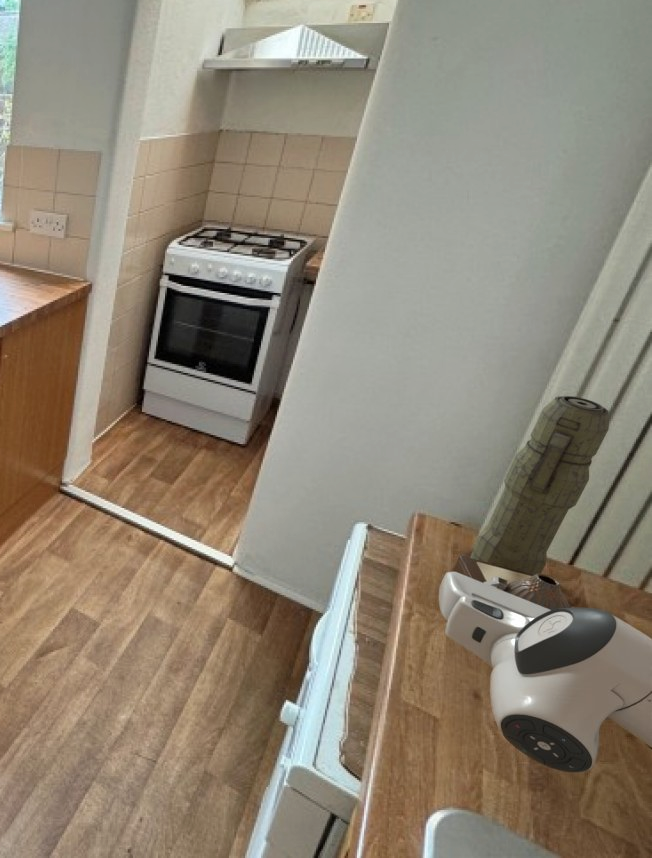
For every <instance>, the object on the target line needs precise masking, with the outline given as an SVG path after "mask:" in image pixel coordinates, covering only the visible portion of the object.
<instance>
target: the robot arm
mask: <svg viewBox="0 0 652 858" xmlns="http://www.w3.org/2000/svg"><path fill="white" fill-rule="evenodd" d="M506 587H507V580H504V579H502V578H499V577H497V576H493V578H492V580H491V581H487V582H484V583H482V582H480V581H477V580H475V579H472V578H470V577H467V576H465V575H462V574H460V573H457V572H452V571H447V572H446V573H445V574H444V577H443V578H442V581H441V582H440V585H439V589H438V604H439V609H440V613H441V615H442V617H443V618H444V619H445V620H446V624H445V625H446V626H445V629H444V631H445V635H446V637H448V638H449V639H450V640H452V641H453V642H454V643H456V644H458V645H460V646H461V647H463V648H464V649H466V650H467V651H469V652H470V653H472V654H474V655H475V657H478V658H479V659H480V660H482V661H483V662H485V663H486V664H487V665H489V666H490V667H491V668H492V671H491V673H490V677H489V694H490V695H489V697H490V707H491V711H492V716H493V719H494V721H495V724H496V727H497V728H498V730H499V732H500V733H501V735H502V736H503V737H504V738H505V739H506V741H507V742H509V743H510V744H511V745H512V746H513V747H514V748H516V749H517V750H518V751H520V753H523V754H524V755H525V756H527V757H528V758H530V759H531V760H533V761H535V762H537V763H539V764H541V765H542V766H545V767H548V768H550V769H554V770H557V771H561V772H565V773H570V774H571V773H572V774H580V773H587V772H588V771H590V770H591V769H592V768H593V767H594V766H595V764H596V761H597V758H598V755H599V750H600V749H599V748H600V728H601V726H602V724H603V723H604V721H605V720H607V718H608V719H610V720H611V721H613V722H614V723H615V724H617V725H618V726H620V727H621V728H623V729H624V730H625V731H626V732H628V733H629V734H631V735H633V736H634V737H636V738H637V739H638V740H640V742H643V743H644V744H645V746H647V747H648V748H649V749H650V750H651V751H652V638H651V637H650V636H648V635H646V634H645V633H644V632H642V631H640V630H638V629H637V628H635V627H634V626H632V625H630V624H629V623H627V622H625V621H624V620H622V619H621V618H619V617H617V616H616V615H613V614H612V613H611V612H609V611H607V610H605V609H601V608H594V607H576V606H572V605H571V608H561V609H554V610H550V609H547V608H545V607H542V606H540V605H537V604H535V603H532V602H530V601H527V600H525V599H522V598H520V597H517V596H515V595H512V594H510V593H507V592H505V591H504V590H505V589H506Z"/></svg>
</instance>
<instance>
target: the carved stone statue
mask: <svg viewBox="0 0 652 858" xmlns="http://www.w3.org/2000/svg"><path fill="white" fill-rule="evenodd" d="M609 429H610V411H609V410H608V409H607V408H606V407H604V406H603V405H602V404H600V403H598V402H595V401H593V400H590V399H587V398H583V397H579V396H574V395H564V396H563V395H562V396H561V395H560V396H559V395H558V396H556V397H554V398H553V399H552V400H551V401H549V402H548V403H547V404H546V405H545V406H544V407H543V408H542V409H541V412H540V413H539V416H538V418H537V420H536V423H535V425H534V427H533V429H532V431H531V433H530V437H531V438H529V440H527V441H526V444H525V446H523V448H521V449H520V450H519V451H517V453H515V456H514V458H513V460H512V462H511V465H510V467H509V469H508V471H507V473H506V476H505V478H504V481H503V482H504V486H505V487H504V489H503V491H502V493H501V495H500V497H499V500H498V502H497V504H496V506H495V508H494V510H493V513H492V515H491V517H490V519H489V521H488V524H487V525H486V526H485V527H484V528H483V529H482V530H481V531H480V532H478V535H477V537H476V539H475V542H474V543H473V546H472V553H471V554H470V555H469V558H473V559H476V560H480V561H484V562H488V563H491V564H495V565H499V566H503V567H507V568H510V569H514V570H518V571H522V572H526V573H529V574H533V575H536V574H542V572H543V570H544V569H545V566H546V565H547V562H548V561H547V560H548V558H547V555H548V553H547V552H548V550H549V548H550V547H551V545H552V543H553V541H554V539H555V538H556V537H555V536H556V535H557V533H558V530H559V529H560V527H561V525H562V523H563V521H564V520H565V517H566V515H567V513H568V512H569V510H570V509H573V508H574V507H575V506H576V505H577V503H578V501H579V500H580V498H581V496H582V495H583V492H584V491H585V488H586V486H587V485H588V482H589V480H590V466H592V458H593V457H595V456H596V454H597V453H598V451H599V449H600V447H601V446H602V443H603V441H604V439H605V437H606V435H607V433H608V431H609Z"/></svg>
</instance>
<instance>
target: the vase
mask: <svg viewBox="0 0 652 858" xmlns="http://www.w3.org/2000/svg"><path fill="white" fill-rule="evenodd" d="M504 591H505V592H507V593H510V594H512V595H515V596H517V597H520V598H522V599H525V600H527V601H530V602H532V603H535V604H537V605H540V606H542V607H545V608H547V609H550V610H554V609H561V608H569V605H568V603H569V601H568V600H567V598H566V596H565V594H564V593H563V591H562V588H561V584H560V582H559V581H558V580H557V579H556V578H554V577H552V576H550V575H548V574H545V573H541V574H536V575H534V576H532V577H526V578H521V579H517V580H514V581H512V582H510V583H509V584H507V587H506V589H505V590H504ZM567 601H568V602H567Z"/></svg>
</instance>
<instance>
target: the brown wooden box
mask: <svg viewBox="0 0 652 858" xmlns="http://www.w3.org/2000/svg"><path fill="white" fill-rule="evenodd" d="M451 572H457V573H460V574H462V575H465V576H467V577H470V578H472V579H475V580H477V581H480V582H482V583H484V582H487V581H491V580H492V578H493V576H497V577H499V578H502V579H504V580H507V584H509V583H510V582H512V581H514V580H517V579H521V578H526V577H532V576H534V575H533V574H529V573H526V572H522V571H518V570H514V569H510V568H507V567H503V566H499V565H495V564H491V563H488V562H484V561H480V560H476V559H473V558H470V556H465V555H462V554H460V555H459V556H458V558H457V560H456V562H455V564H454V567H453V569H452V571H451ZM567 602H568V605H569V608H571V607H572V605H571V604H570V603H569V601H568V600H567Z"/></svg>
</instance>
